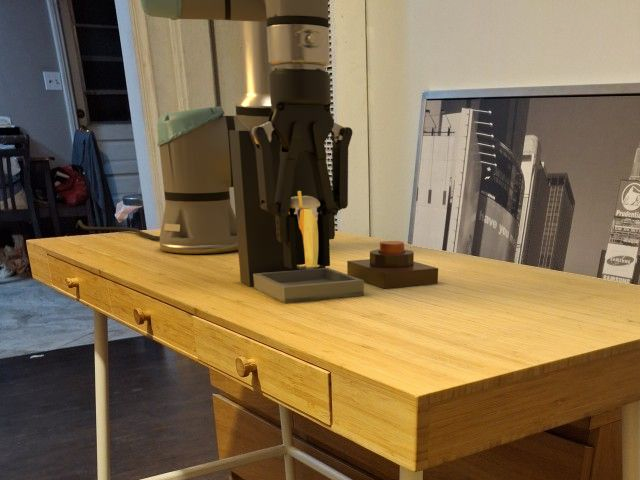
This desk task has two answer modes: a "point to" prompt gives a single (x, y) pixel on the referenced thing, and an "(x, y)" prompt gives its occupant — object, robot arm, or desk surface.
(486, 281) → the desk surface
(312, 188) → the coffee maker
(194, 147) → the robot arm
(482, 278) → the desk surface
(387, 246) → the brew button
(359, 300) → the desk surface
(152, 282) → the desk surface
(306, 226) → the milkshake
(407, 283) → the panel
